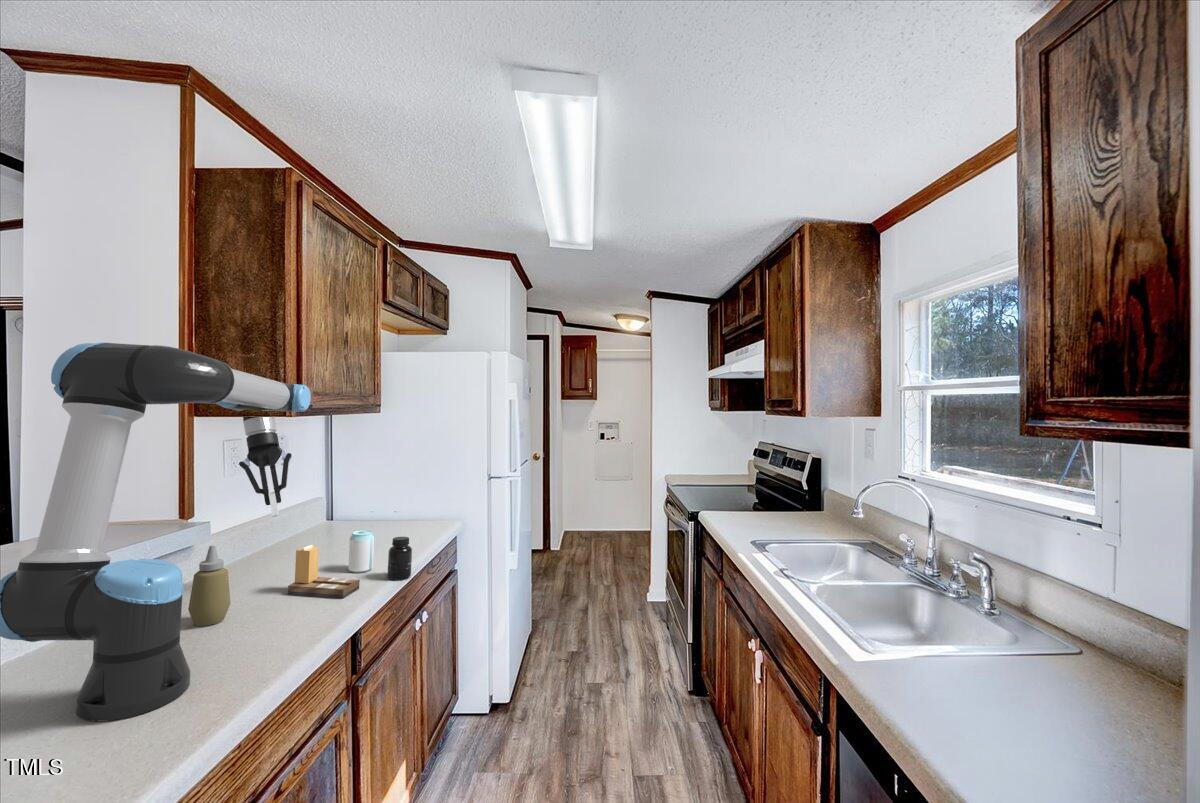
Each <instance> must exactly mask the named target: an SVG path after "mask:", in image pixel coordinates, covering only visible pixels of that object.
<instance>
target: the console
mask: <svg viewBox="0 0 1200 803" xmlns="http://www.w3.org/2000/svg"><path fill="white" fill-rule="evenodd" d="M360 583H361V582H360V579H352V578H343V577H342V578H341V577H323V576H317V579H316V580H314V581H313V583H295V581H294V582H292V583H291V584H288V585H287V596H298V595H300V597H301V596H302V597H313V598H325V599H326V598H327V599H328V598H329V599H341V600H344V599H345V598H347V597H348V596H350V595H351V594H353V593H354V592H356V591H358V590H359V589H360Z"/></svg>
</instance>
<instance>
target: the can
mask: <svg viewBox="0 0 1200 803" xmlns="http://www.w3.org/2000/svg"><path fill="white" fill-rule="evenodd" d="M374 546H375V536H374V534H373V531H372V530H363V529H362V530H356V531H353V532H352V534H351V536H350V537H349V546H348V547H349V551H348V570H349V572H352V573H355V574H363V573H366V572H370V571H371V570H372V569H373V568H374V551H375V550H374V548H375V547H374Z"/></svg>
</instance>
